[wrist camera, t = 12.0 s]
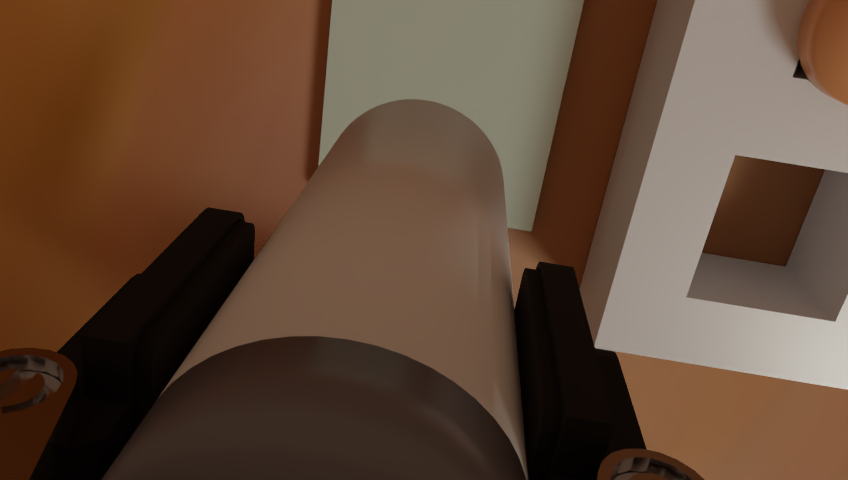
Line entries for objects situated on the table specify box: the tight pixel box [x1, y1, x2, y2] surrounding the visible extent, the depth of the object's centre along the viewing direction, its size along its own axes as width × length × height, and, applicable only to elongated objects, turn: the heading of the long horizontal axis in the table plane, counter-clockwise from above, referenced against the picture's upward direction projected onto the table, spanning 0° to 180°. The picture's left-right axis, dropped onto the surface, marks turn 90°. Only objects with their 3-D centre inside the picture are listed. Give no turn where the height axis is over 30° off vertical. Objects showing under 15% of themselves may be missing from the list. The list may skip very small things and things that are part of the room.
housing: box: [579, 0, 848, 390], centre depth 28 cm, size 18×12×5 cm, turn 172°
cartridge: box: [101, 99, 528, 480], centre depth 12 cm, size 4×4×12 cm
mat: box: [318, 0, 584, 231], centre depth 30 cm, size 12×10×1 cm
